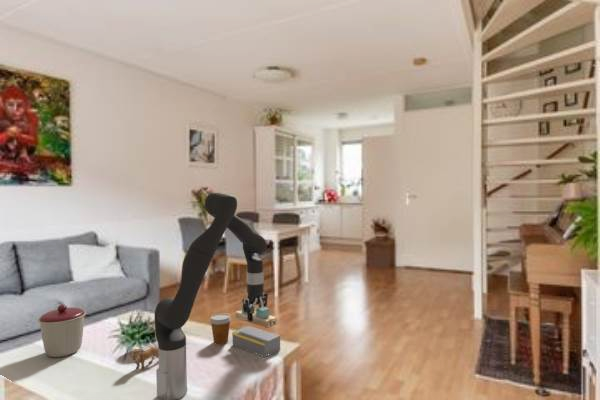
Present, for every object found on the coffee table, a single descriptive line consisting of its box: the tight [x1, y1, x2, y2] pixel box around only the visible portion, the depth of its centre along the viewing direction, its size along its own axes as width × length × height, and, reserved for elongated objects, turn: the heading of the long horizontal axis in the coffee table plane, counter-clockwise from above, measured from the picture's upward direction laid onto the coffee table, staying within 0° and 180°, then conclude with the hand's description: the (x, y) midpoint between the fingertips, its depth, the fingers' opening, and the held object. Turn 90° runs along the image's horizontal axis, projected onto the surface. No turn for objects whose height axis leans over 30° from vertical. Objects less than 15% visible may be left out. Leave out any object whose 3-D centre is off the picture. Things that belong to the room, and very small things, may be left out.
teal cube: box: [255, 306, 270, 319], centre depth 168 cm, size 4×4×4 cm
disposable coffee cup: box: [209, 312, 232, 345], centre depth 177 cm, size 10×10×12 cm
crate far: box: [241, 304, 255, 314], centre depth 174 cm, size 4×4×4 cm
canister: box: [37, 304, 87, 358], centre depth 168 cm, size 18×18×21 cm
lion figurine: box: [129, 346, 159, 371], centre depth 154 cm, size 15×5×9 cm, turn 152°
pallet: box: [234, 309, 278, 329], centre depth 171 cm, size 6×20×3 cm, turn 52°
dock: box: [231, 325, 281, 357], centre depth 172 cm, size 10×20×6 cm, turn 52°
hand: (255, 318), depth 171 cm, fingers closed on pallet, 6 cm apart
